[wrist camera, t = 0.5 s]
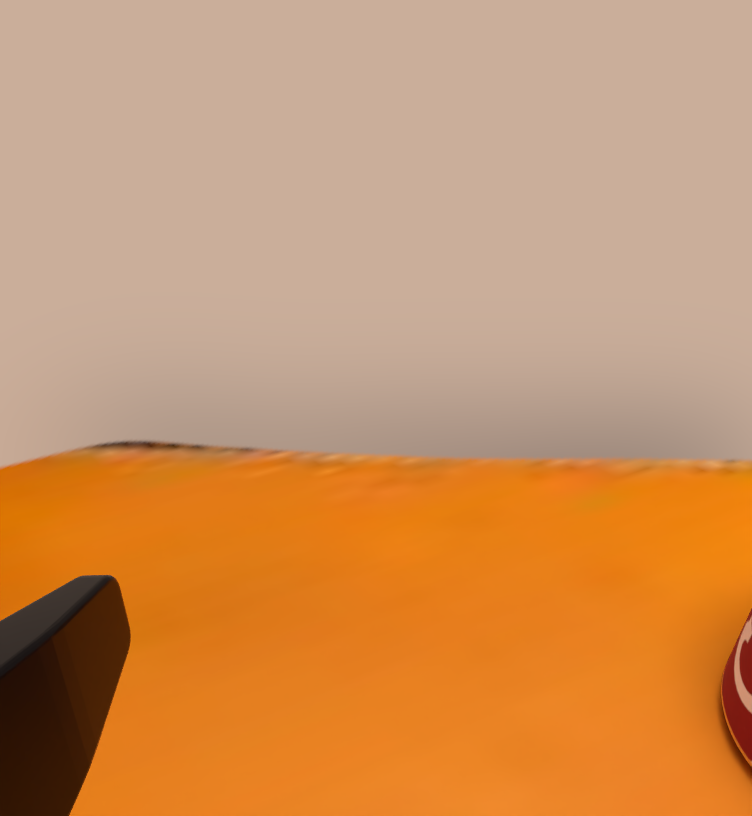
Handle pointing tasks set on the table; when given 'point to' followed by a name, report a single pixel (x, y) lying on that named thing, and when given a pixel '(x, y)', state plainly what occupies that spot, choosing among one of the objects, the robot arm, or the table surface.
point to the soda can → (739, 691)
